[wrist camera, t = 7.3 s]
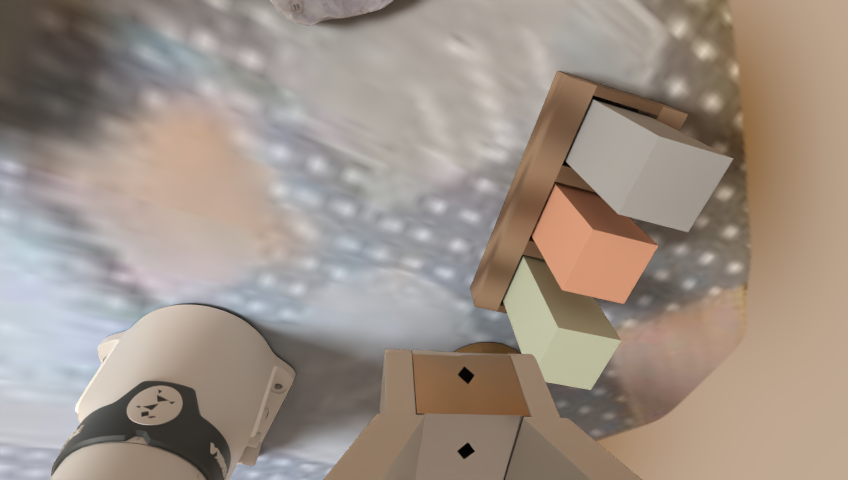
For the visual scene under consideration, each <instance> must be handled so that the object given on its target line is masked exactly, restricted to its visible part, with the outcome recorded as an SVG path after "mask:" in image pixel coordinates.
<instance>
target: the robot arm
mask: <svg viewBox="0 0 848 480" xmlns="http://www.w3.org/2000/svg"><path fill="white" fill-rule="evenodd" d="M98 355H99V358H100V361H101V364H102V365H101V366H100V368H99V370H98V371H97V373H96V374H95V376H94V377H93V379H92V380H91V382H90V383H89V385H88V387H87V388H86V390H85V391H84V393H83V394H82V396H81V398H80V399H79V401H78V403H77V405H76V408H75V411H76V412H77V413H78V420H79V422H80V425H79V426H78V428H77V429H76V430H75V432H73V433H72V434H71V435H70V437H69V438H68V440H67V441H66V443H65V444H64V446H63V447H62V450H61V451H60V455H59V456H58V458H57V459H56V461H55V462H54V465H53V468H52V473H51V478H50V480H229V479H230V477H231V475H232V473H233V471H234V469H235V467H236V465H238V464H245V465H249V466H252V465H253V466H254V465H255V463H256V460H257V458H258V455H259V452H260V449H261V445H262V442H263V440H264V438H265V436H266V434H267V432H268V430H269V428H270V426H271V424H272V422H273V420H274V418H275V417H276V415H277V413H278V411H279V409H280V407H281V405H282V403H283V401H284V399H285V397H286V395H287V393H288V391H289V389H290V388H291V386H292V384H293V381H294V379H295V375H296V374H295V371H294V370H293V369H292V368H291V367H290V366H289V365H288V364H287V363H285V362H284V361H282V360H281V359H280V358H278V357H277V356H276V355H275V354H274V353H273V352H272V350H271V349H270V347H269V345H268V344H267V342H266V341H265V339H264V338H263V337H262V336H261V335H260V333H259V332H258V331H257V330H255V329H254V328H253V327H252V326H251V325H249V324H248V323H247V322H245V321H244V320H242V319H240V318H238V317H237V316H235V315H232V314H230V313H228V312H225V311H223V310H220V309H216V308H212V307H208V306H202V305H174V306H168V307H164V308H161V309H158V310H155V311H153V312H151V313H149V314H147V315H145V316H144V317H143V318H141V319H140V320H139V321H138V322H137V323H136V324H134V325H133V326H132V327H131V328H130V329H128V330H126V331H123V332H120V333H116V334H113V335H110V336H108V337H106V338H104V339H103V340H102V342H101V344H100V345H99V347H98ZM323 480H642V479H641V478H639V477H638V476H637V475H636V474H635V473H633V472H632V471H631V470H630V469H629V468H627V467H626V466H625V465H624V464H623V463H621V462H620V461H619V460H618V459H617V458H615V457H614V456H613V455H611V453H609V452H608V451H607V450H606V449H605V448H603V447H602V446H601V445H600V444H598V443H597V442H596V441H595V440H594V439H592V438H591V437H590V436H589V435H588V434H586V433H585V432H584V431H583V430H582V429H580V428H579V427H578V426H577V425H576V424H574V423H573V422H572V421H571V420H570V419H568V418H560V416H559V413H558V411H557V409H556V406H555V404H554V401H553V399H552V397H551V394H550V392H549V389H548V387H547V384H546V382H545V380H544V377H543V375H542V372H541V370H540V368H539V365H538V363H537V360H536V358H535V357H534V356H533V355H532V354H490V353H458V352H441V351H425V350H411V351H410V350H400V349H385V353H384V364H383V374H382V385H381V397H380V411H379V414H376V416H375V417H374V418H373V419H372V421H371V422H370V423H369V424H368V425H367V427H366V428H365V429H364V430H363V432H362V433H361V434H360V435H359V437H358V438H357V439H356V440H355V441H354V443H353V444H352V445H351V446H350V448H349V449H348V450H347V451H346V452H345V454H344V455H343V456H342V457H341V459H340V460H339V461H338V462H337V464H336V465H335V466H334V467H333V468H332V470H331V471H330V472H329V473H328V475H327V476H326V477H325V478H324V479H323Z"/></svg>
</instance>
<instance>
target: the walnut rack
mask: <svg viewBox="0 0 848 480" xmlns="http://www.w3.org/2000/svg"><path fill="white" fill-rule="evenodd" d="M593 95H594V96H597V97H600V98H603V99H607V100H610V101H613V102H616V103H620V104H623V105H626V106H629V107H632V108H636V109H639V110H638V113H639V114H643V115H646V116H649V117H652V118H654V119H656V120H658V121H660V122H662V123H664V124H666V125H668V126H670V127H672V128H674V129H676V130H678V131H680V129H681V127H682V125H683V123H684V122H685V120H686V118H687V116H688V114H686V113H684V112H681V111H679V110H677V109H674V108H672V107H670V106H667V105H664V104H661V103H658V102H655V101H651V100H648V99H645V98H642V97H639V96H636V95H632V94H629V93H626V92H623V91H620V90H617V89H613V88H610V87H607V86H604V85H601V84H598V83H594V82H591V81H588V80H585V79H582V78H579V77H575V76H572V75H569V74H566V73H563V72H560V71H557V73H556V75H555V78H554V80H553V83H552V85H551V88H550V90H549V93H548V95H547V98H546V100H545V103H544V105H543V108H542V110H541V113H540V115H539V118H538V120H537V123H536V125H535V128H534V130H533V133H532V135H531V138H530V140H529V143H528V145H527V148H526V150H525V152H524V155H523V157H522V160H521V162H520V165H519V167H518V170H517V172H516V175H515V177H514V180H513V182H512V185H511V187H510V190H509V192H508V195H507V197H506V200H505V202H504V205H503V207H502V210H501V212H500V215H499V217H498V220H497V222H496V225H495V227H494V230H493V232H492V235H491V237H490V240H489V242H488V245H487V247H486V250H485V252H484V255H483V257H482V260H481V262H480V265H479V267H478V270H477V272H476V275H475V277H474V280H473V282H472V285H471V287H470V290H471V294H472V298H473V302H474V305H475V307H479V308H484V309H488V310H493V311H498V312H503V313H507V311H506V308H505V305H504V302H503V298H504V296H505V294H506V292H507V288H508V285H509V283H510V281H511V279H512V276H513V274H514V272H515V270H516V267H517V265H518V263H519V261H520V258H521V256H522V255H527V256H531V257H535V258H540V259H544V257H543V256H542V254H541V252H540V250H539V248H538V247H537V245H536V243H535V241H534V240H533V238H532V236H531V234H532V232H533V229H534V227H535V225H536V223H537V220H538V218H539V216H540V214H541V211H542V209H543V207H544V205H545V202H546V200H547V198H548V196H549V193H550V191H551V189H552V187H553V184H554V182H559V183H562V184H566V185H570V186H574V187H577V188H581V189H585V190H589V191H592V192H596V191H595V190H594V189H593V188H592V187H591V186H590V185H589V184H588V183H587V182H586V181H585V180H584V179H583V178H582V177H581V176H580V175H579V174H578V173H577V172H576V171H575V170H574V169H573V168H572V167H571V166H570V165H569V164H568V163H567V162H566V161H565V159H566V158H565V157H566V155H567V153H568V151H569V148H570V146H571V144H572V142H573V139H574V137H575V135H576V133H577V130H578V128H579V126H580V124H581V121H582V119H583V117H584V115H585V112H586V110H587V108H588V106H589V103H590V101H591V99H592V97H593ZM596 193H597V192H596ZM629 218H630V219H632V218H631V217H629ZM544 260H545V259H544Z"/></svg>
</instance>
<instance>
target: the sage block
mask: <svg viewBox="0 0 848 480" xmlns="http://www.w3.org/2000/svg"><path fill="white" fill-rule="evenodd" d="M503 302H504V305H505V308H506V311H507V314H508V317H509V319H510V322H511V325H512V328H513V331H514V334H515V336H516V339H517V342H518V345H519V348H520V350H521V353H522V354H532V355H533V356H534V357H535V358H536V360H537V363H538V365H539V368H540V370H541V372H542V375H543V377H544V380H545V382H548V383H554V384H559V385H565V386H570V387H576V388H582V389H587V390H591V389H592V387H593V386H594V384H595V383H596V381H597V379H598V378H599V376H600V374H601V373H602V371H603V370H604V368H605V366H606V365H607V363H608V361H609V360H610V358H611V357H612V355H613V353H614V352H615V350H616V348H617V347H618V345H619V344H620V342H621V339H620V338H619V336H618V334H617V333H616V331H615V330H614V328H613V327H612V325H611V324H610V322H609V321H608V319H607V318H606V316H605V314H604V313H603V311H602V310H601V308H600V307H599V305H598V304H597V302H596V301H595V299H594V298H593V297H590V296H586V295H581V294H577V293H572V292H568V291H563V290H562V289H561V288H560V286H559V284H558V282H557V281H556V279H555V277H554V275H553V273H552V272H551V270H550V268H549V266H548V265H547V263H546V261H545V260H541V259H537V258H533V257H528V256H524V255H523V256H522V258H521V260H520V263H519V265H518V267H517V269H516V271H515V274H514V276H513V278H512V280H511V283H510V285H509V287H508V289H507V292H506V294H505V296H504V298H503Z"/></svg>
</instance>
